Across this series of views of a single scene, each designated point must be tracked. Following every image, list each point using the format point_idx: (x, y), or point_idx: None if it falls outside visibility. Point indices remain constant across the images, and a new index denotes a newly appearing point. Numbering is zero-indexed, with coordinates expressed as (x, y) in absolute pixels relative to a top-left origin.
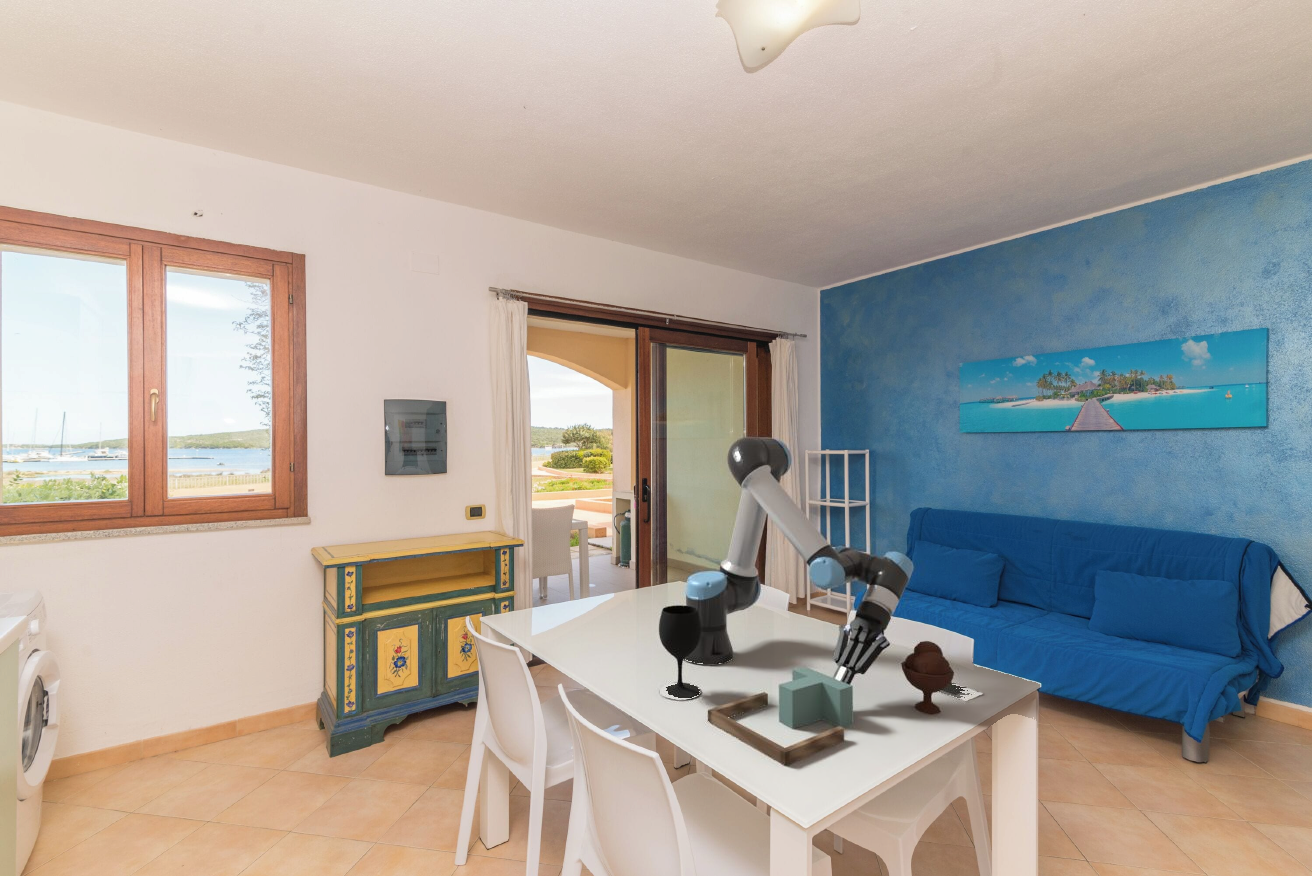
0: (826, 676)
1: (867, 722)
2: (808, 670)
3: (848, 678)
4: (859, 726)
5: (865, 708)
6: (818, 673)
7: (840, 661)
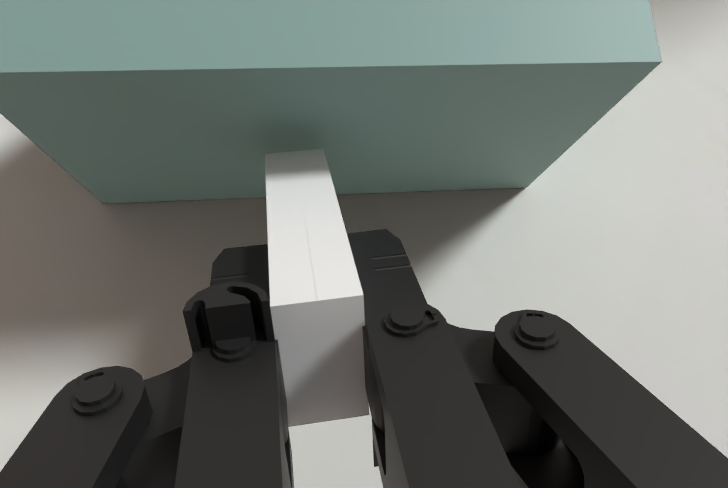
0: (319, 42)
1: (55, 303)
2: (544, 10)
3: (211, 281)
4: (49, 208)
5: None
6: (427, 34)
7: (431, 339)
